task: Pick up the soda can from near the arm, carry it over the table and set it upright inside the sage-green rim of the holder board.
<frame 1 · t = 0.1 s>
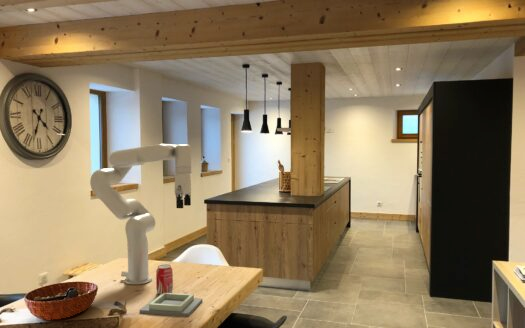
hand: (183, 206, 194), 37 cm above the table, tool pointing down, fingers open, 9 cm apart
holder board: (172, 307, 166), on the table
soda can: (164, 293, 183), on the table
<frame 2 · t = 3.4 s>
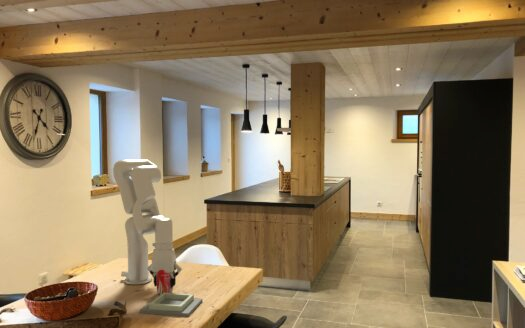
hand: (164, 285, 183), 3 cm above the table, tool pointing down, fingers closed on soda can, 7 cm apart
soda can: (164, 293, 183), on the table, touching gripper
when the fingers open (6 cm above the table, at t = 9.6 s): soda can drops 1 cm, resting on holder board.
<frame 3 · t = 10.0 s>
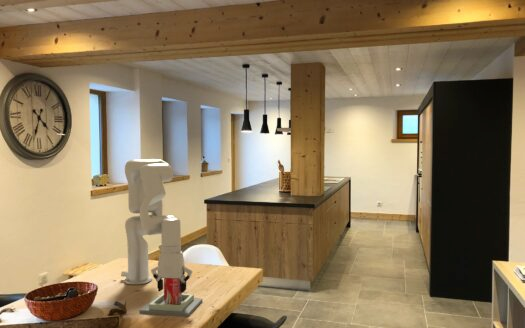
hand: (171, 291, 166), 7 cm above the table, tool pointing down, fingers open, 9 cm apart
soda can: (173, 304, 166), point 1 cm above the table, touching holder board
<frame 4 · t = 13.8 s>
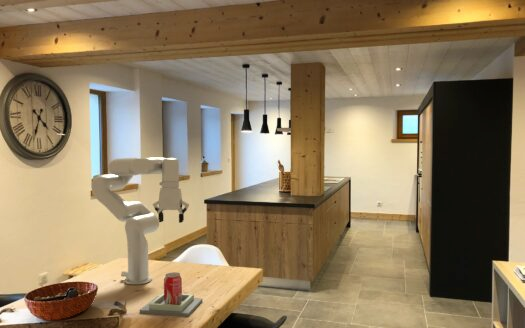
hand: (171, 222, 190), 30 cm above the table, tool pointing down, fingers open, 9 cm apart
nothing on the table moved.
at the end: soda can 0.4 cm off-centre on the holder board, point 1.0 cm above the holder board's base; soda can tilted 0°; the gripper is holding nothing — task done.
